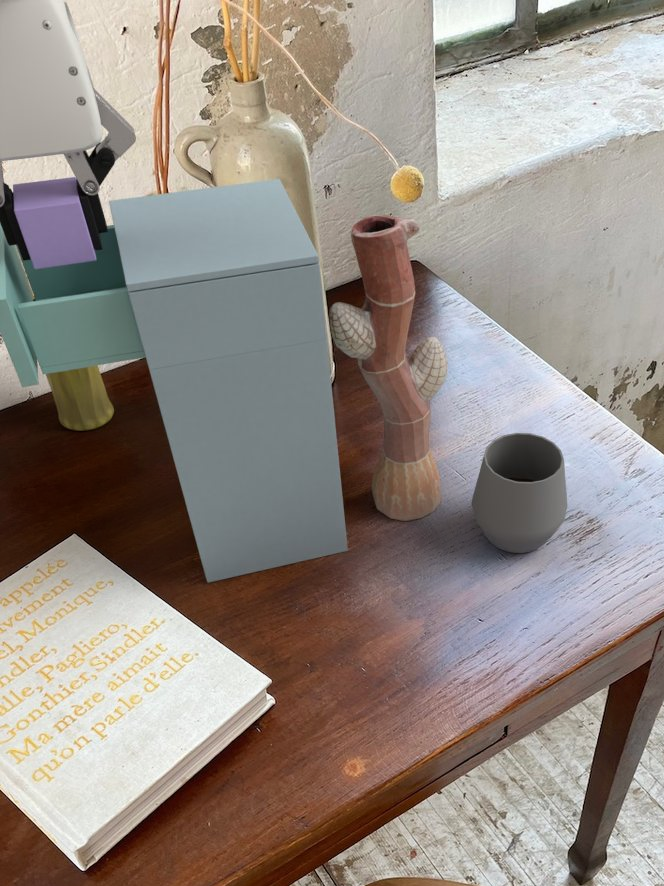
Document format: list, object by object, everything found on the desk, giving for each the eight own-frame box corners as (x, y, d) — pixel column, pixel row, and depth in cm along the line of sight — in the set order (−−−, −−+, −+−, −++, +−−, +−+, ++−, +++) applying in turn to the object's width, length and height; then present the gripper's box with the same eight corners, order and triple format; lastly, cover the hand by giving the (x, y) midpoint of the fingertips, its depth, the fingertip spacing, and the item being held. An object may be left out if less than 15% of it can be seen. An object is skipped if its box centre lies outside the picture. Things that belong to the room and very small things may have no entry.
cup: (468, 564, 89) (472, 487, 82) (471, 501, 96) (474, 424, 88) (564, 568, 89) (576, 492, 82) (561, 505, 95) (571, 428, 88)
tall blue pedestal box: (207, 583, 87) (125, 284, 64) (186, 492, 96) (108, 200, 73) (347, 551, 90) (318, 255, 67) (315, 465, 99) (279, 178, 76)
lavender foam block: (34, 270, 66) (13, 210, 63) (32, 242, 69) (12, 184, 65) (96, 260, 67) (79, 201, 64) (92, 234, 70) (75, 176, 66)
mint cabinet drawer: (-50, 400, 66) (-92, 313, 61) (-46, 306, 75) (-82, 222, 69) (210, 356, 70) (192, 271, 65) (185, 272, 79) (167, 190, 74)
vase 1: (62, 436, 102) (19, 323, 91) (57, 406, 106) (15, 294, 95) (117, 425, 104) (82, 312, 93) (111, 395, 107) (75, 284, 97)
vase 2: (444, 474, 99) (447, 200, 76) (449, 519, 94) (454, 241, 71) (347, 478, 98) (321, 202, 76) (347, 524, 93) (320, 244, 71)
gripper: (108, -71, 58) (170, 210, 72) (-180, -52, 54) (-57, 240, 68) (119, -41, 54) (183, 253, 67) (-195, -18, 50) (-60, 289, 63)
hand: (61, 244), depth 67 cm, fingers closed on lavender foam block, 4 cm apart
